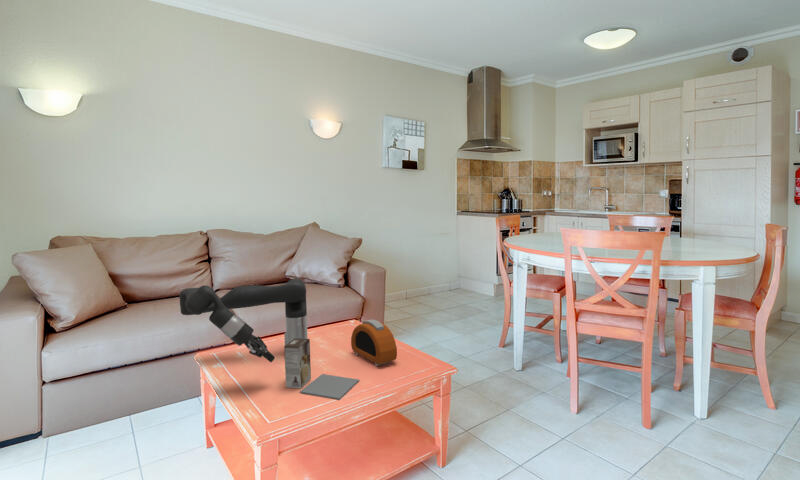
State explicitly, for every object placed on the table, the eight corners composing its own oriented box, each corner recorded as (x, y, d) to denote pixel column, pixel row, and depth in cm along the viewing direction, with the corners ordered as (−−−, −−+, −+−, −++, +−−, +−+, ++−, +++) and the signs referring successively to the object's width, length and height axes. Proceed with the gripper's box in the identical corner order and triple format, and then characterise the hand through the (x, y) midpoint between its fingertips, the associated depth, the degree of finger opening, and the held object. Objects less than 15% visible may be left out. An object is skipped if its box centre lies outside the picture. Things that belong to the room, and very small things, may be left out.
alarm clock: (350, 352, 195) (349, 316, 193) (367, 348, 201) (366, 313, 199) (380, 369, 177) (379, 329, 175) (397, 364, 182) (397, 325, 180)
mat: (299, 393, 156) (299, 391, 156) (322, 375, 171) (322, 373, 171) (339, 399, 151) (339, 398, 151) (359, 381, 166) (359, 379, 166)
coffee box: (296, 377, 170) (294, 337, 168) (311, 378, 168) (310, 338, 167) (285, 387, 161) (283, 345, 159) (301, 389, 159) (300, 346, 158)
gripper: (233, 331, 164) (268, 360, 168) (225, 343, 152) (263, 374, 155) (247, 317, 165) (281, 346, 168) (241, 327, 152) (278, 359, 155)
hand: (273, 359), depth 162 cm, fingers closed
